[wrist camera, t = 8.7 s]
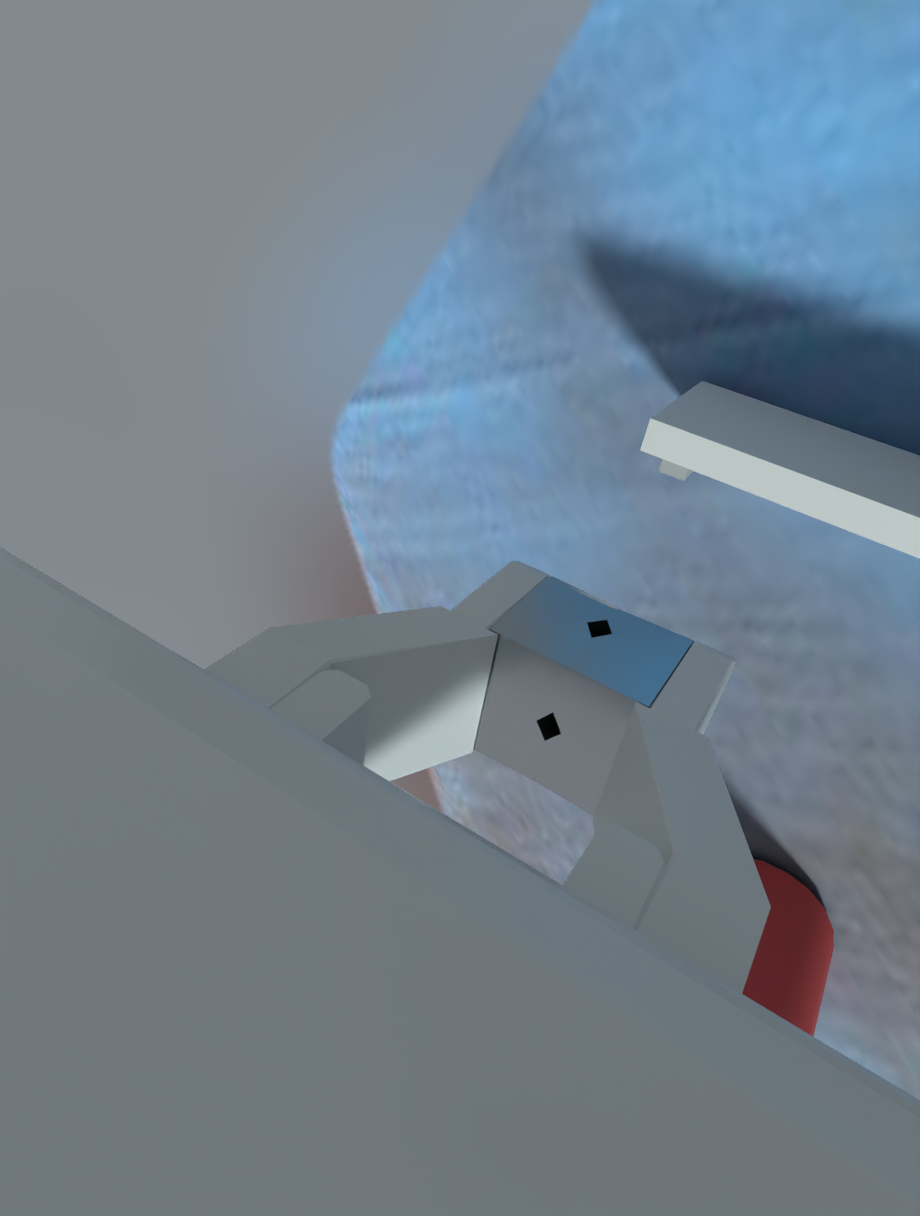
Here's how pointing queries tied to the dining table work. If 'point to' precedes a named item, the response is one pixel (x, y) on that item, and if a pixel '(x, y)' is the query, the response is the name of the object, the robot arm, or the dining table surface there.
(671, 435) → the side door
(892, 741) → the dining table surface
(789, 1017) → the beer can
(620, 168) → the dining table surface
